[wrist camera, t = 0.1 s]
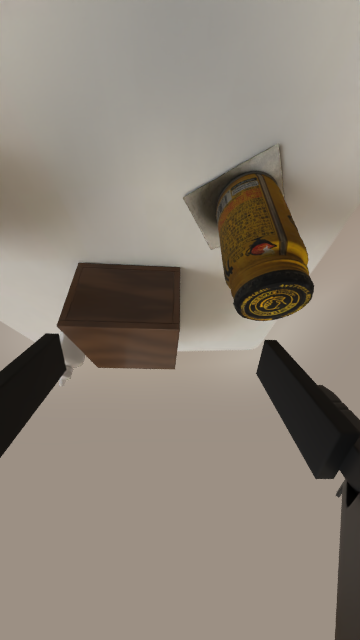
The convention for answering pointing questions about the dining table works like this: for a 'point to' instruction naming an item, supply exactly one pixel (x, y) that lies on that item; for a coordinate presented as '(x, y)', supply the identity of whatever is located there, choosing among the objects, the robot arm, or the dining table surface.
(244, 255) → the condiment
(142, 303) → the cabinet
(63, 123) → the dining table surface
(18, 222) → the dining table surface
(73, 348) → the eye dropper bottle
